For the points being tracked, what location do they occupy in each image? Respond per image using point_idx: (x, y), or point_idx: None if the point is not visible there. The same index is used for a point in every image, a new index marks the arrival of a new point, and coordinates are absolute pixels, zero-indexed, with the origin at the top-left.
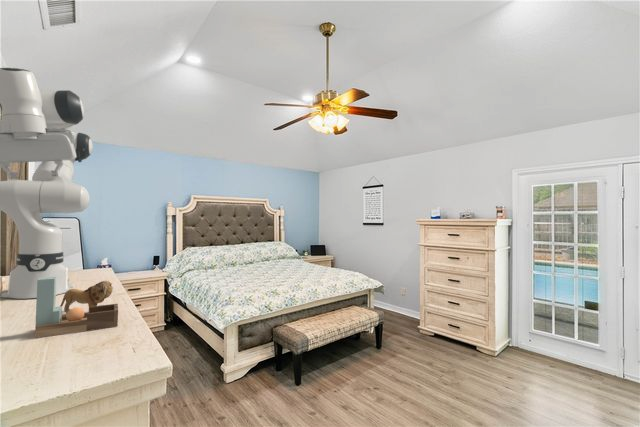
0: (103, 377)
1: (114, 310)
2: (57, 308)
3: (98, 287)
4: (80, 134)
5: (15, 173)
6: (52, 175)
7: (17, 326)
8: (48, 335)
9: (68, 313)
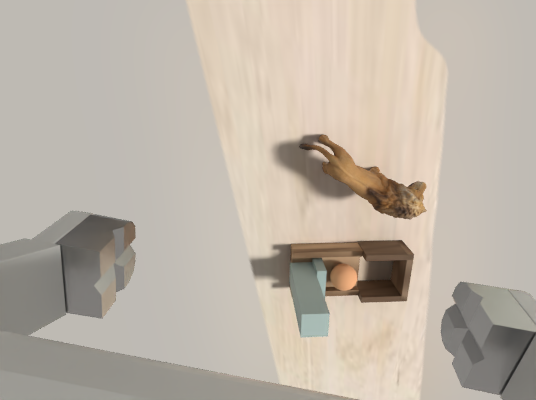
0: None
1: (401, 299)
2: (320, 283)
3: (396, 215)
4: None
5: (109, 290)
6: (446, 336)
7: (253, 210)
8: None
9: (335, 287)
